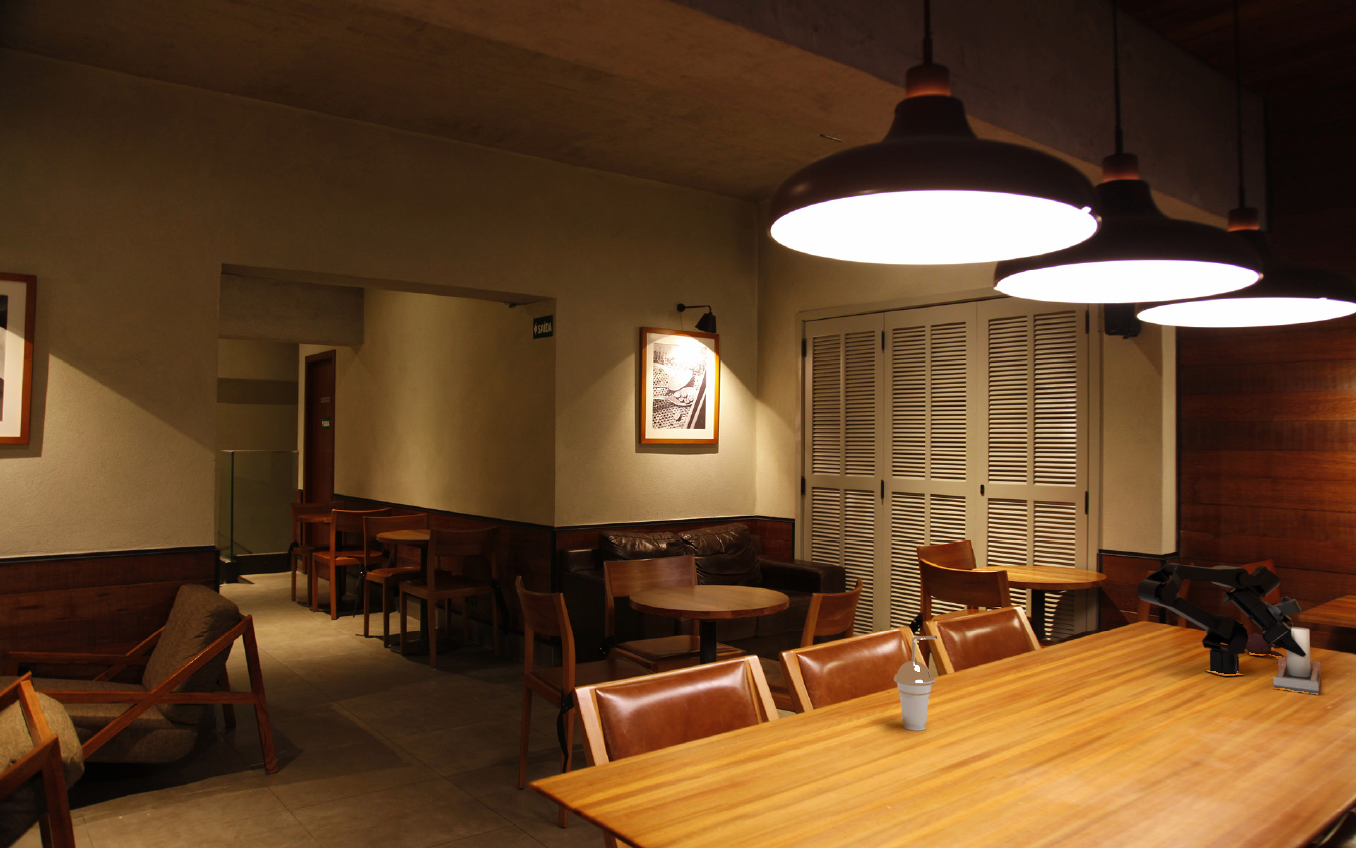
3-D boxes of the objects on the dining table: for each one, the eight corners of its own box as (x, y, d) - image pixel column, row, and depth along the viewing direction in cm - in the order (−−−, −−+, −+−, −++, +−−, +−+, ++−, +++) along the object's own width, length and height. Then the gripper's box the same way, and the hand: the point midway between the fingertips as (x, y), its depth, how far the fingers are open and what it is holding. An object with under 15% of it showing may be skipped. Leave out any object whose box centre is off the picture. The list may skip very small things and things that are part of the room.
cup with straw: (918, 719, 188) (918, 627, 189) (945, 732, 180) (944, 635, 181) (885, 723, 185) (885, 630, 186) (911, 736, 177) (910, 638, 178)
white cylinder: (1310, 678, 222) (1309, 631, 223) (1286, 675, 225) (1285, 628, 226) (1310, 674, 226) (1309, 628, 227) (1287, 671, 229) (1286, 626, 230)
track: (1318, 695, 210) (1317, 676, 210) (1273, 689, 215) (1273, 671, 216) (1320, 678, 226) (1320, 661, 227) (1279, 673, 232) (1278, 656, 232)
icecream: (1220, 631, 258) (1276, 645, 245) (1233, 623, 261) (1289, 636, 248) (1222, 652, 259) (1277, 667, 246) (1235, 644, 262) (1290, 658, 250)
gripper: (1277, 592, 221) (1332, 641, 214) (1280, 583, 236) (1331, 629, 229) (1241, 619, 226) (1293, 668, 219) (1246, 608, 241) (1295, 654, 234)
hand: (1304, 654), depth 225 cm, fingers closed on white cylinder, 5 cm apart
